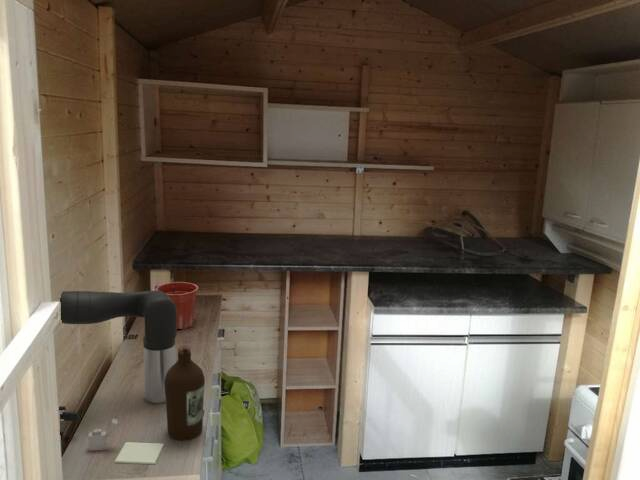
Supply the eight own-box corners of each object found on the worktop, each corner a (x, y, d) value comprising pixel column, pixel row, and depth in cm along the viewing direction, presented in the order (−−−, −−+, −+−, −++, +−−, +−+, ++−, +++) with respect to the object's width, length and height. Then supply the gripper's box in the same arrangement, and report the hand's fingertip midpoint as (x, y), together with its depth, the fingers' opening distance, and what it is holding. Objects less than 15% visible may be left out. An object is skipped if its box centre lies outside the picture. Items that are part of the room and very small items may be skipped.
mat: (126, 443, 143) (125, 442, 142) (163, 445, 143) (163, 443, 143) (114, 462, 135) (114, 461, 135) (154, 464, 135) (154, 462, 135)
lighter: (89, 450, 139) (87, 423, 137) (90, 446, 141) (88, 419, 139) (118, 448, 140) (116, 421, 139) (119, 444, 142) (117, 417, 140)
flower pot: (164, 316, 231) (164, 280, 227) (202, 318, 230) (202, 282, 226) (151, 331, 214) (150, 293, 211) (192, 333, 214) (191, 295, 210)
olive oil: (157, 433, 147) (155, 349, 142) (183, 416, 157) (183, 336, 151) (186, 446, 143) (185, 359, 137) (212, 427, 152) (212, 345, 146)
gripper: (-10, 426, 131) (57, 428, 131) (21, 396, 145) (82, 398, 145) (-7, 453, 133) (59, 455, 133) (24, 421, 147) (83, 423, 147)
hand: (71, 425), depth 139 cm, fingers open, 8 cm apart
